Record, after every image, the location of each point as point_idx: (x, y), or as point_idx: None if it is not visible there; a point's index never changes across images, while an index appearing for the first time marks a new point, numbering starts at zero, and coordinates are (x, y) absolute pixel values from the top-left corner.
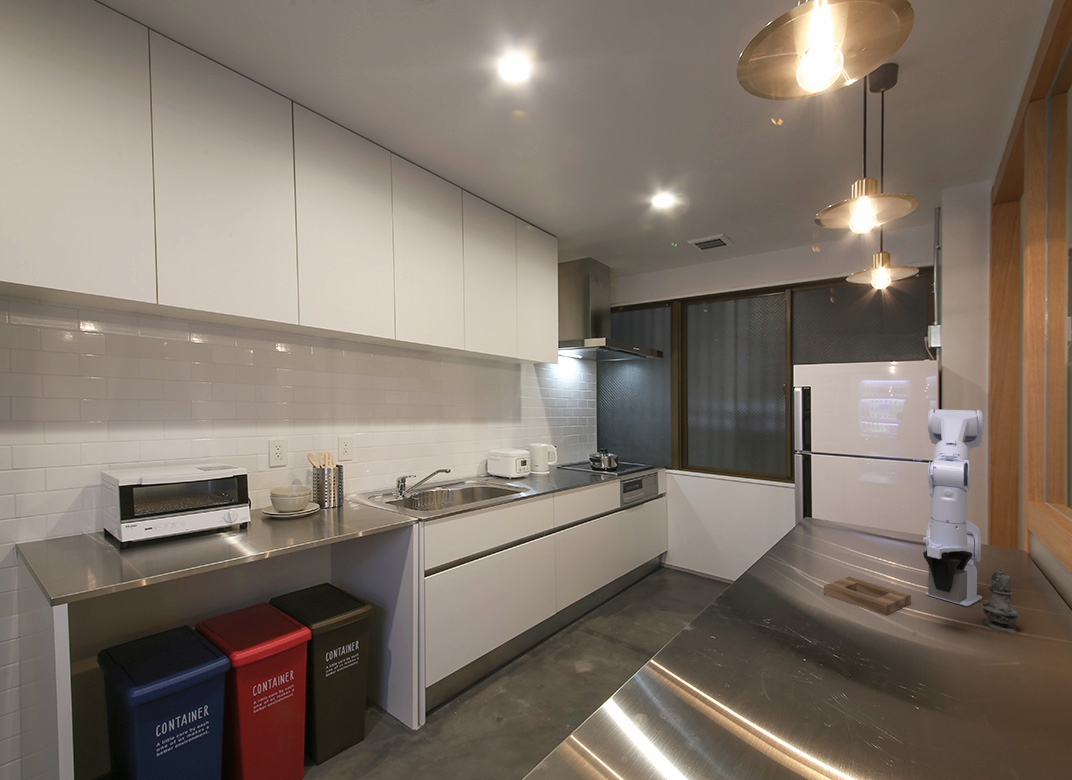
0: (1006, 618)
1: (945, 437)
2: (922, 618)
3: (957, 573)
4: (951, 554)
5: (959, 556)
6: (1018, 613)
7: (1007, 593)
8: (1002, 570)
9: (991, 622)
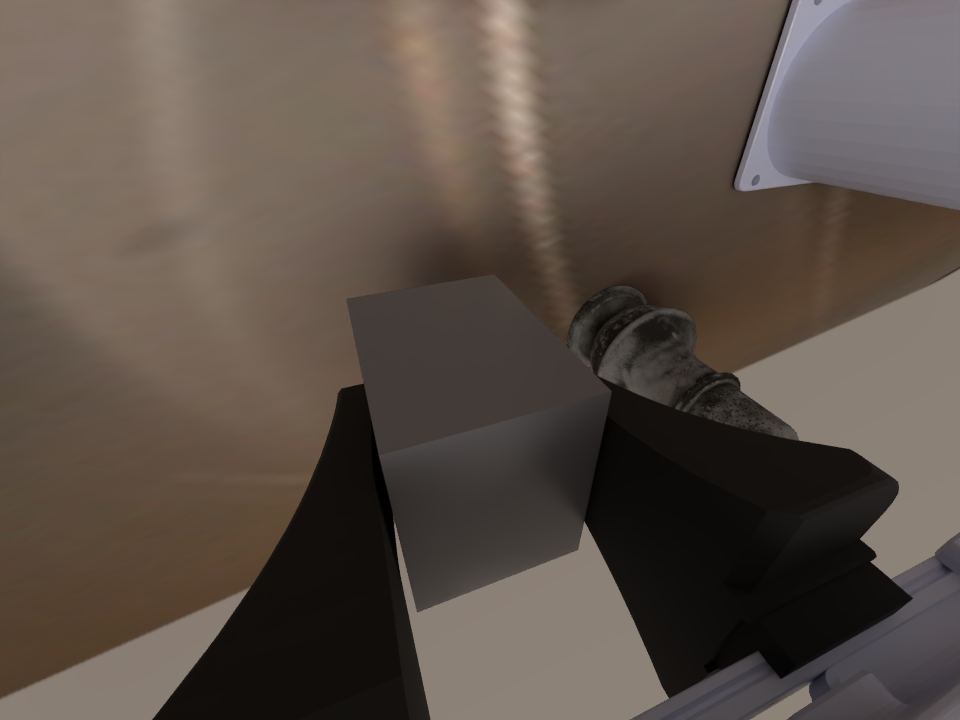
0: None
1: None
2: (430, 148)
3: (436, 592)
4: (689, 599)
5: (667, 632)
6: None
7: None
8: None
9: (607, 315)
